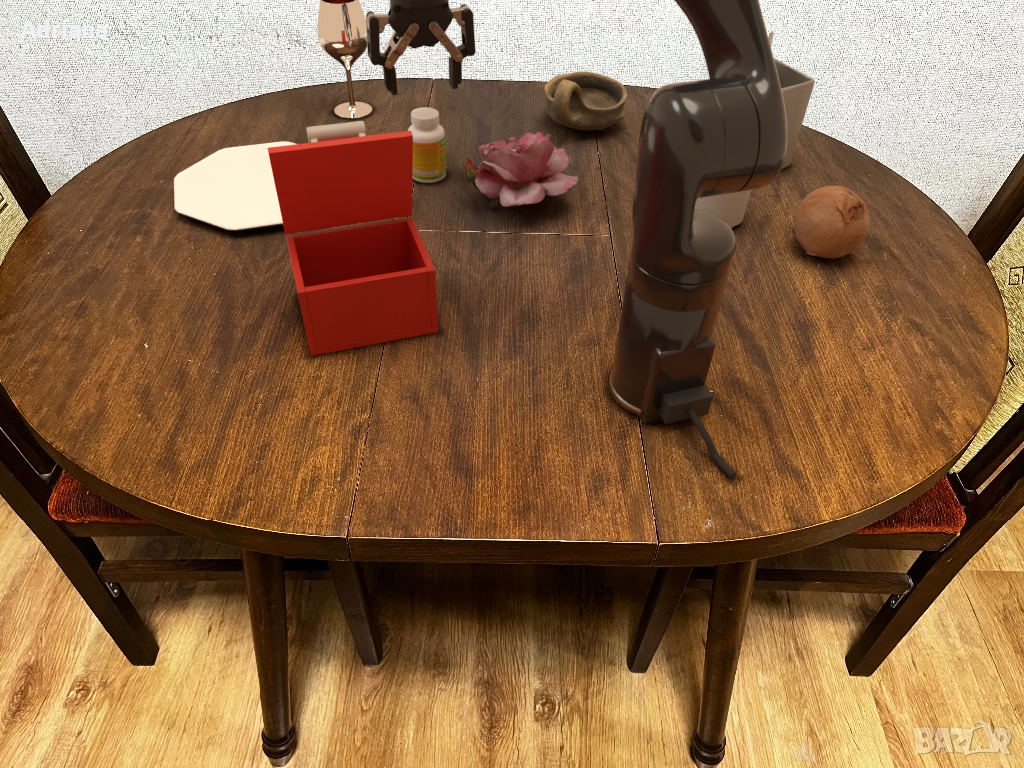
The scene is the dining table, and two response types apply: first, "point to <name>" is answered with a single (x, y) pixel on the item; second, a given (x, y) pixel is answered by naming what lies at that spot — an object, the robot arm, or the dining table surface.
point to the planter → (793, 101)
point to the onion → (831, 222)
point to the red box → (363, 284)
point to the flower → (520, 170)
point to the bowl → (585, 100)
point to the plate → (231, 189)
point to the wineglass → (344, 45)
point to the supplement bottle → (428, 146)
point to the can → (726, 206)
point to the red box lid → (343, 177)
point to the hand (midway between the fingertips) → (424, 89)
